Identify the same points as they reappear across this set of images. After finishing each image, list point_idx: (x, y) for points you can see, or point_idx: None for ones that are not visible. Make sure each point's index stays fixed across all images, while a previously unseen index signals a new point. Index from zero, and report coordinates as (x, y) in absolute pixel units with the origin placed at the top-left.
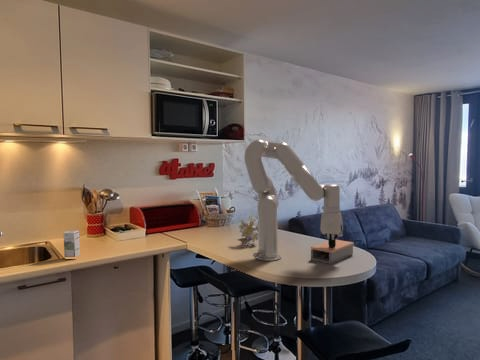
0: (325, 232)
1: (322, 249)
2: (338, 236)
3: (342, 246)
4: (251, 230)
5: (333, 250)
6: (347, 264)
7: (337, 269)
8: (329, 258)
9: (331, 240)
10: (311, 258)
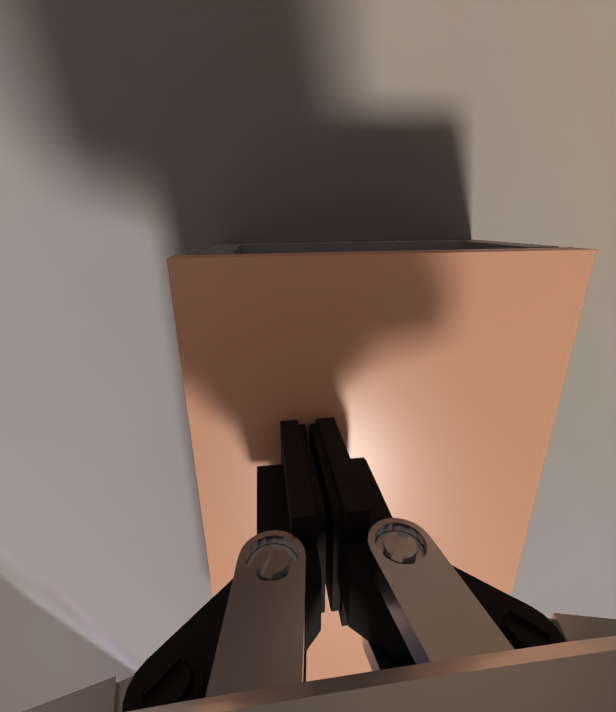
0: (583, 656)
1: (363, 252)
2: (89, 699)
3: (219, 581)
4: None
5: (175, 318)
6: (84, 358)
7: (14, 89)
8: (230, 247)
9: (298, 508)
10: (472, 240)
